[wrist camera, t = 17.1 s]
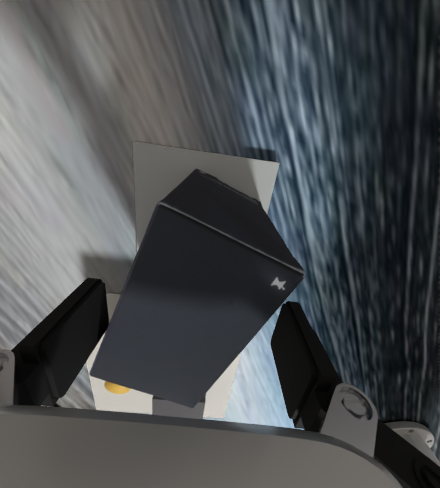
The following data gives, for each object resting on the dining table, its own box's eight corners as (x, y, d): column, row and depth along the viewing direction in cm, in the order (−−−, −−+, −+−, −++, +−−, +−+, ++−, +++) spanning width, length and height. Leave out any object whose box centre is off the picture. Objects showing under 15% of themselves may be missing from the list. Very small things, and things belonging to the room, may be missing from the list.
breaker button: (204, 367, 25) (200, 429, 19) (166, 364, 24) (152, 426, 19) (208, 341, 23) (205, 402, 17) (168, 337, 22) (152, 399, 17)
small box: (191, 162, 16) (150, 190, 6) (263, 202, 17) (319, 273, 8) (145, 268, 20) (79, 381, 10) (207, 293, 21) (197, 413, 12)
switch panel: (222, 374, 28) (224, 426, 23) (116, 365, 27) (92, 418, 22) (238, 306, 23) (244, 353, 18) (108, 292, 22) (73, 339, 17)
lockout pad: (244, 299, 23) (245, 304, 22) (141, 288, 22) (138, 293, 21) (276, 162, 17) (279, 162, 16) (136, 141, 16) (132, 141, 15)
